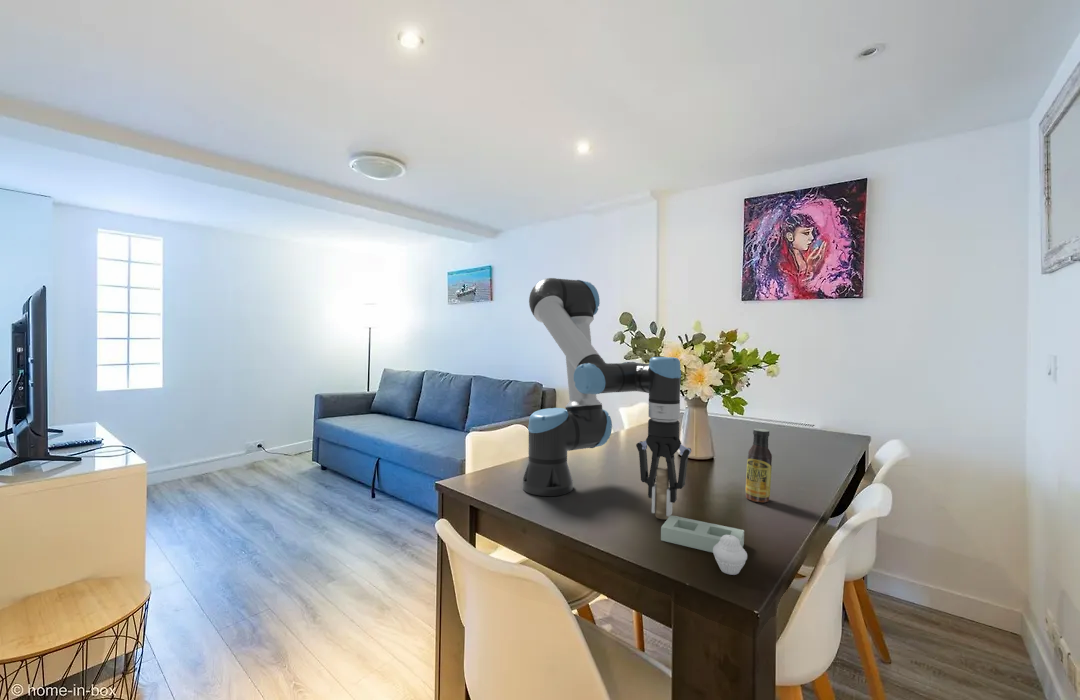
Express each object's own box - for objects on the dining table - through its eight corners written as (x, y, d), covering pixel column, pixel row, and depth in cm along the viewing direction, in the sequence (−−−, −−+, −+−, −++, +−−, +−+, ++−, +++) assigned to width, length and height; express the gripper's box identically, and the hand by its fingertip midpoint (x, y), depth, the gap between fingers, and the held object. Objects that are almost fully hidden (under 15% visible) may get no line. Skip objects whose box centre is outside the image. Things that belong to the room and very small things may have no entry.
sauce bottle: (742, 499, 125) (743, 429, 125) (749, 494, 130) (750, 426, 130) (767, 505, 121) (768, 432, 120) (774, 499, 125) (775, 429, 125)
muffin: (740, 582, 82) (741, 545, 82) (707, 571, 86) (708, 535, 86) (751, 570, 87) (751, 534, 87) (719, 559, 91) (719, 525, 91)
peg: (654, 517, 111) (655, 469, 111) (657, 513, 114) (658, 466, 113) (666, 520, 109) (667, 471, 109) (669, 516, 112) (670, 468, 112)
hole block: (660, 540, 99) (661, 526, 99) (670, 527, 106) (670, 515, 106) (738, 558, 91) (739, 544, 91) (743, 543, 98) (744, 530, 98)
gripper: (627, 418, 112) (625, 511, 112) (693, 425, 103) (691, 525, 104) (637, 413, 118) (635, 501, 119) (700, 420, 110) (698, 514, 111)
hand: (661, 512), depth 111 cm, fingers closed on peg, 3 cm apart
